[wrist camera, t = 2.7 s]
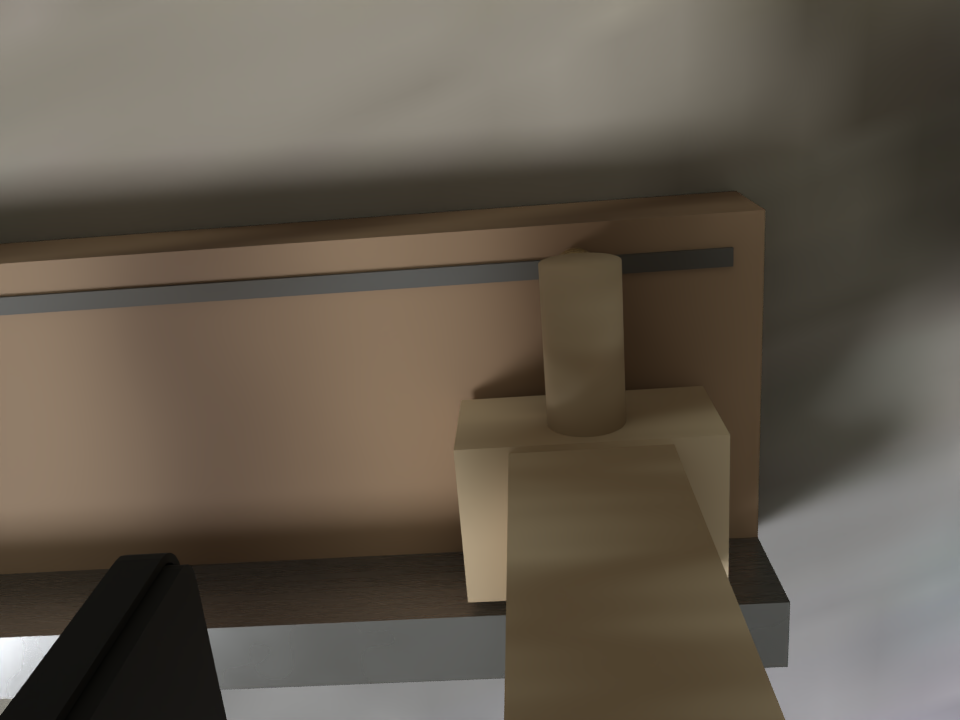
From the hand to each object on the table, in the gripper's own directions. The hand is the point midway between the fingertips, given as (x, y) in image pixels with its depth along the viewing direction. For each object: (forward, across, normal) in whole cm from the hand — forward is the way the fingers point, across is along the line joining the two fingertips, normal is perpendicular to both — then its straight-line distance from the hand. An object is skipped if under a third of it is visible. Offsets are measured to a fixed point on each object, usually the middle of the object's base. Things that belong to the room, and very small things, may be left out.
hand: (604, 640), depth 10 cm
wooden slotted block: (+8, +6, 0) cm, 10 cm away
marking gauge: (+5, 0, -1) cm, 5 cm away
